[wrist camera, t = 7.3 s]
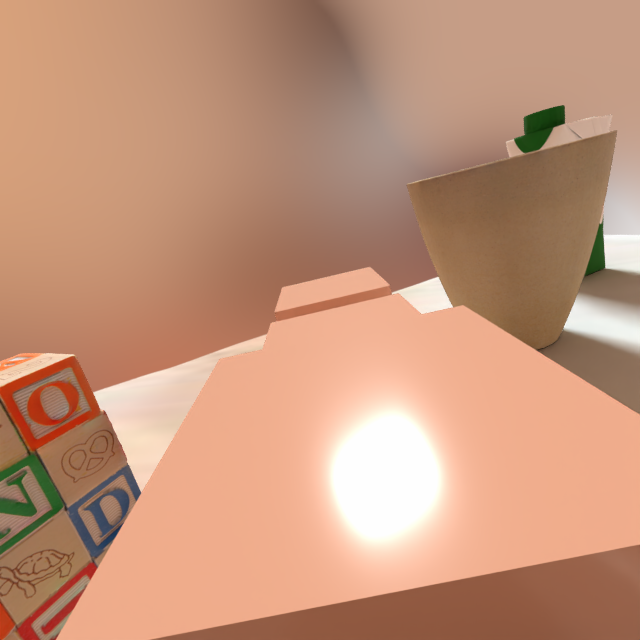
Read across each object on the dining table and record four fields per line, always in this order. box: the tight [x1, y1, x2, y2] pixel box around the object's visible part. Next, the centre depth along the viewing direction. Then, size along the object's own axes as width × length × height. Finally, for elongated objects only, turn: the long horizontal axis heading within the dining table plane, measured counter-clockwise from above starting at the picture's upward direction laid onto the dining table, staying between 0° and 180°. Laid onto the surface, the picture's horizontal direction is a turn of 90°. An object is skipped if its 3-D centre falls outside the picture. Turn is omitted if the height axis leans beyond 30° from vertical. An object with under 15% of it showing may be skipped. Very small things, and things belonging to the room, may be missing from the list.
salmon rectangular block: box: [263, 293, 421, 349], centre depth 15 cm, size 6×6×11 cm
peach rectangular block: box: [275, 267, 392, 321], centre depth 23 cm, size 6×6×11 cm
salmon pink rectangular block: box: [56, 305, 640, 640], centre depth 7 cm, size 6×6×11 cm
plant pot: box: [407, 130, 617, 350], centre depth 31 cm, size 15×15×16 cm
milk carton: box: [506, 105, 612, 276], centre depth 44 cm, size 9×9×20 cm
